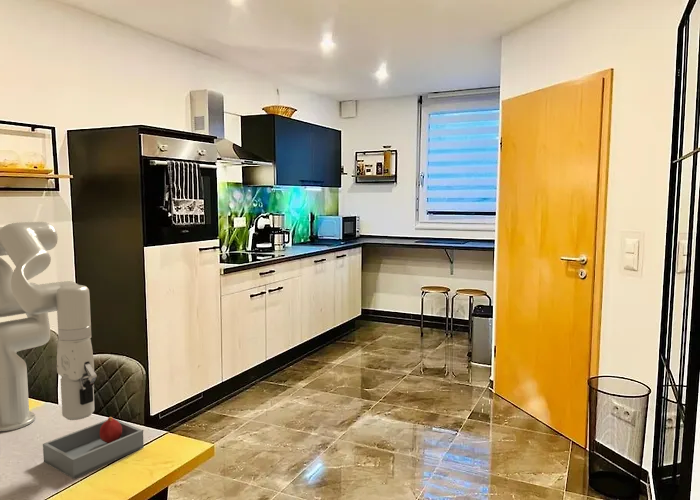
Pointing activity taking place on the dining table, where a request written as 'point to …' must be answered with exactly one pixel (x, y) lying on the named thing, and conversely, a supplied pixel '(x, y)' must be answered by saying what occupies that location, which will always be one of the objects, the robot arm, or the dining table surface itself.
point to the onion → (110, 430)
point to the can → (74, 400)
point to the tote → (90, 449)
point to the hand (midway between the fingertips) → (78, 399)
